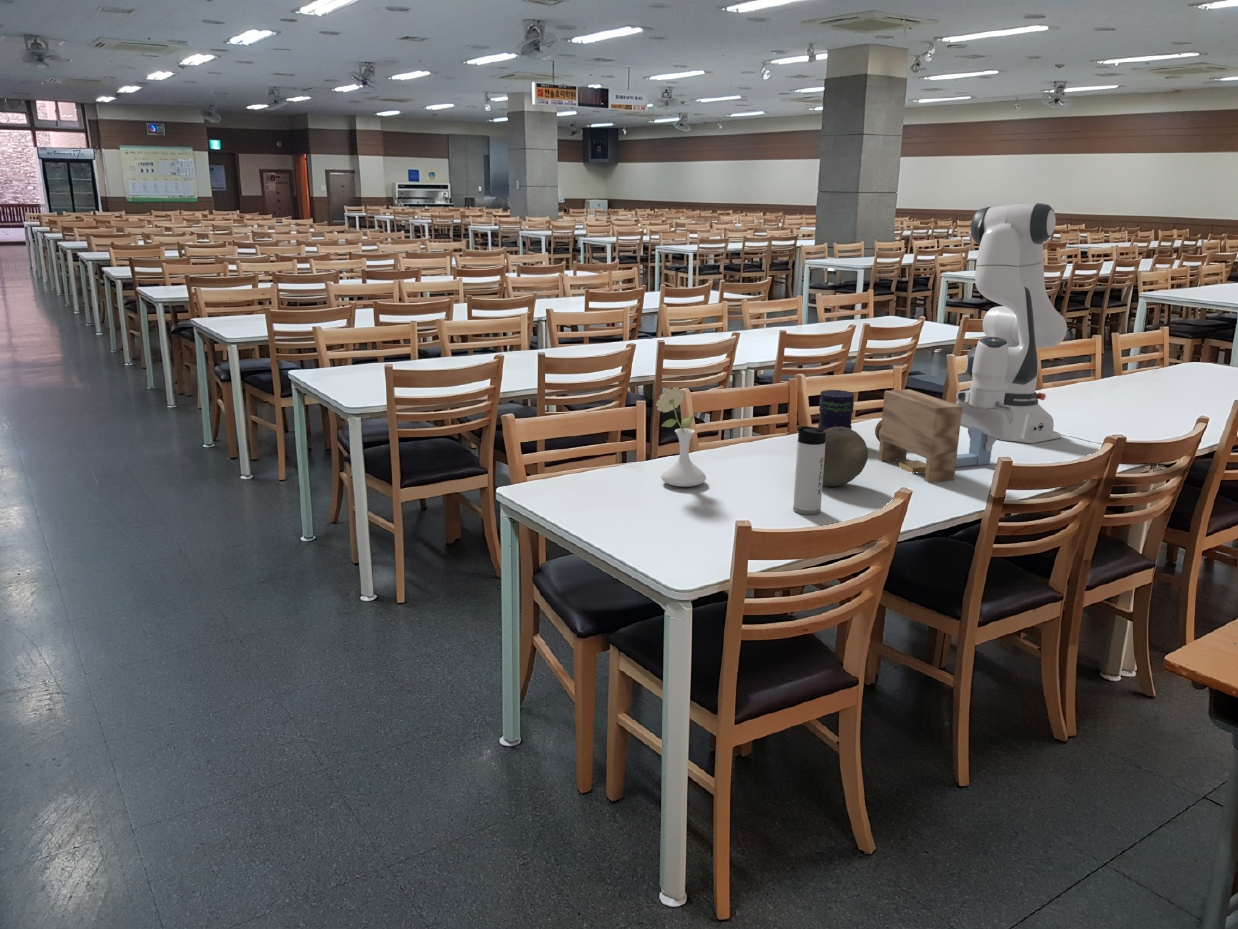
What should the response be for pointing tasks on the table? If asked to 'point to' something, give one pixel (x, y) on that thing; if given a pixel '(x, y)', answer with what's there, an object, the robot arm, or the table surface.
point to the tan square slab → (913, 466)
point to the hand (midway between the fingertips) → (980, 448)
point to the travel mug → (809, 470)
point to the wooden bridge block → (921, 431)
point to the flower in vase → (683, 468)
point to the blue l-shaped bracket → (975, 450)
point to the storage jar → (835, 409)
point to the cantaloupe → (843, 456)
